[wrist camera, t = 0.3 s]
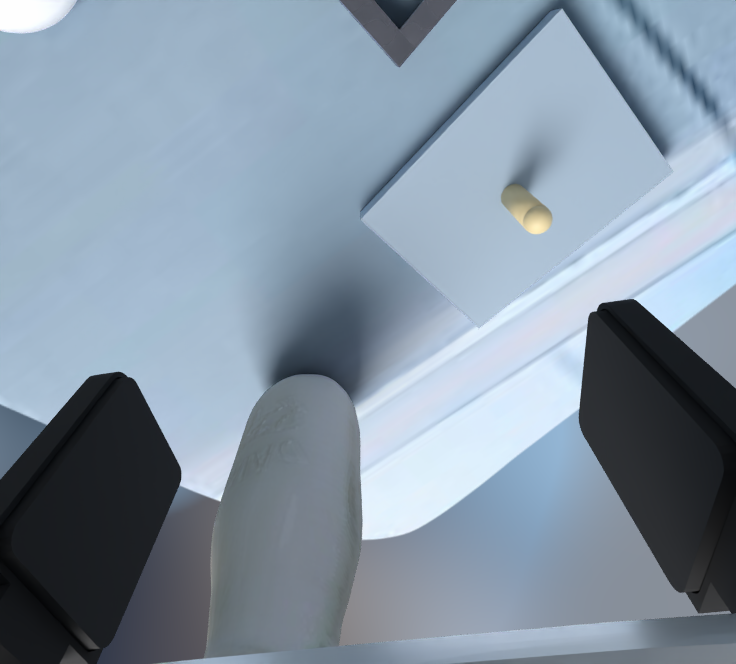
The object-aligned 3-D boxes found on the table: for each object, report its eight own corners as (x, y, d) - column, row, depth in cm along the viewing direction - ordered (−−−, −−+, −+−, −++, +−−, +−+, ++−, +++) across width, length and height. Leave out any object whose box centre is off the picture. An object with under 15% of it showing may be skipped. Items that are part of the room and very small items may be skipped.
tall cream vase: (306, 446, 50) (254, 811, 26) (238, 386, 45) (100, 759, 22) (380, 403, 47) (398, 772, 23) (315, 335, 42) (253, 702, 18)
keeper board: (550, 10, 30) (610, -3, 23) (658, 165, 35) (735, 195, 28) (360, 211, 36) (359, 251, 29) (474, 317, 42) (497, 372, 34)
